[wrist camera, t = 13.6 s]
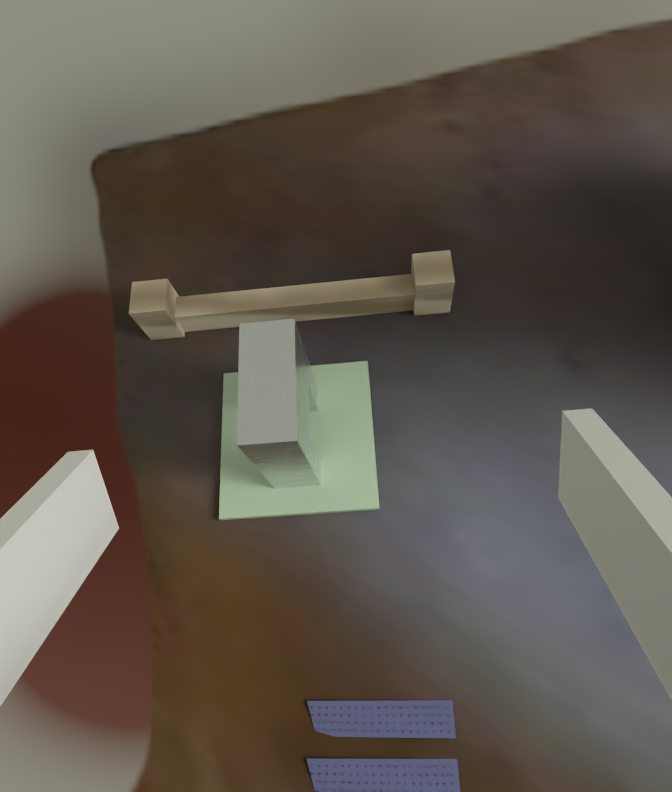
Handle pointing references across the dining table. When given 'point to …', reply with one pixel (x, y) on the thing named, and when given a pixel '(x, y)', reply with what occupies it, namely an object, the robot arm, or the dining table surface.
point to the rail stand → (295, 300)
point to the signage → (384, 777)
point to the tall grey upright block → (277, 403)
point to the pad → (335, 445)
